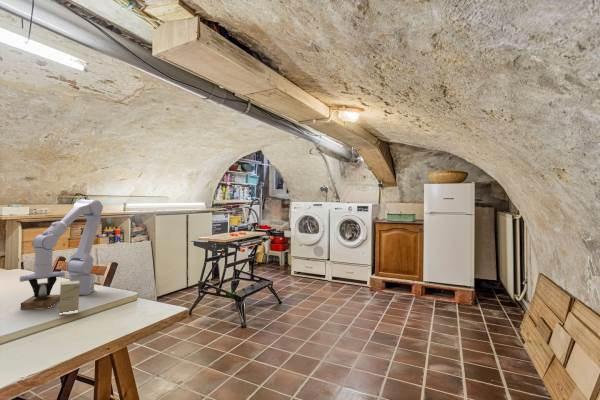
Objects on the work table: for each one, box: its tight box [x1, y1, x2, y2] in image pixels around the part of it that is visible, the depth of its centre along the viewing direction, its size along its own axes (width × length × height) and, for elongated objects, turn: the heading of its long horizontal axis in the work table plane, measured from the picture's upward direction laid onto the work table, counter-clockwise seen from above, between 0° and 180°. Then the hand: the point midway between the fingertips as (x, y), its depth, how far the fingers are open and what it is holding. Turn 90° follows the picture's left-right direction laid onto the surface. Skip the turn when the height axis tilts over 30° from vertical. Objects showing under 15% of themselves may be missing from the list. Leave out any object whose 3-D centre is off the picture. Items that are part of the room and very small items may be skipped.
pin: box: [36, 282, 48, 301], centre depth 133 cm, size 4×4×7 cm
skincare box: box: [58, 280, 80, 314], centre depth 127 cm, size 6×4×12 cm
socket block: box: [20, 294, 60, 310], centre depth 134 cm, size 10×10×2 cm
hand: (42, 296), depth 134 cm, fingers closed on pin, 3 cm apart
